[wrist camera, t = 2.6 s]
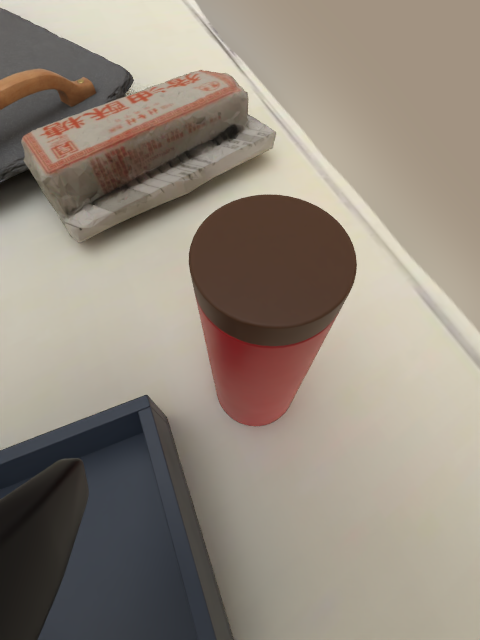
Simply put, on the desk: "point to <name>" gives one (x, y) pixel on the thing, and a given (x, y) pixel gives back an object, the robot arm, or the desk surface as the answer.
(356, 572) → the desk surface
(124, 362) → the desk surface
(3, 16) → the serving tray
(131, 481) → the desk bin
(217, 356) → the candy tube
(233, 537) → the desk surface
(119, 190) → the packaged product
